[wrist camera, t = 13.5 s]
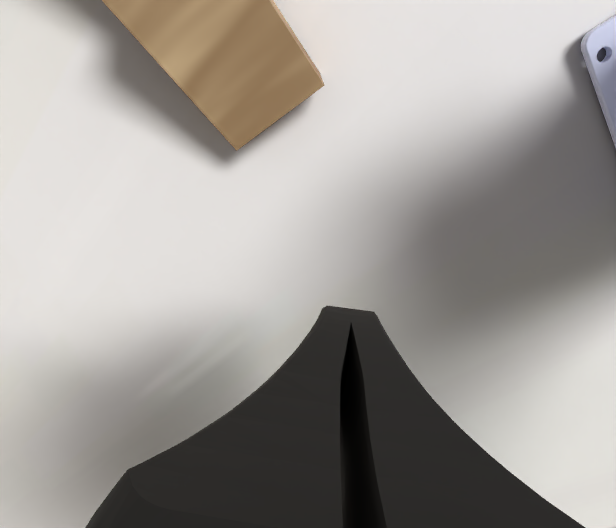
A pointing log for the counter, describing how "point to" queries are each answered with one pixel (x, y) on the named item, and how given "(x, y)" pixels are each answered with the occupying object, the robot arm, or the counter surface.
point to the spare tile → (226, 58)
